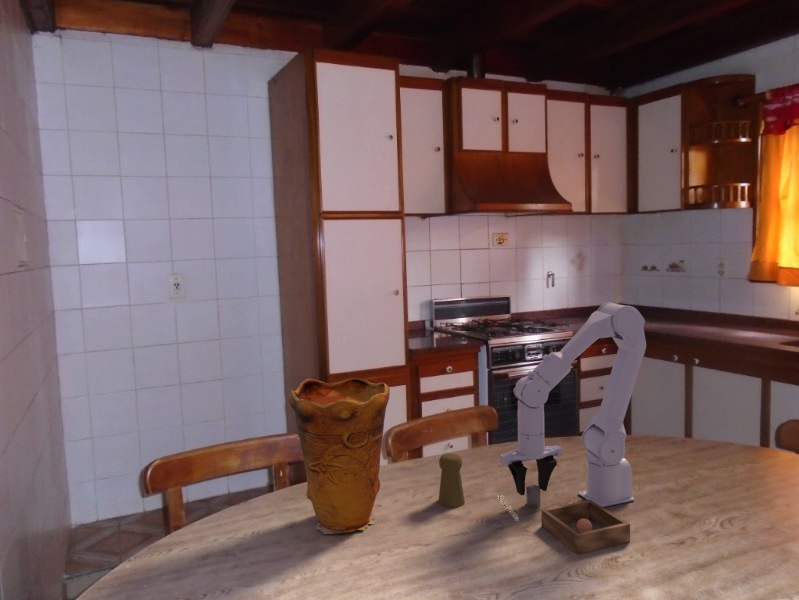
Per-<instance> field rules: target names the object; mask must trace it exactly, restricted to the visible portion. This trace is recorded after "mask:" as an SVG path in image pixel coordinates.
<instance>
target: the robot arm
mask: <svg viewBox="0 0 799 600" xmlns="http://www.w3.org/2000/svg"><path fill="white" fill-rule="evenodd" d="M645 323H646V320H645V317H644V316H643V315H642V314H641V312H640V311H639V310H638V309H637V308H636V307H634V306H631V305H624V304H618V303H615V302H612V301H609V302H608V301H607V302H605V303H603V304H601V305H600V306H599V307H598V309H597V310H595V311H593V312H592V313H591V314H590V316H589V317H588V319H587V320H586V322H585V323H584V324H583V325H582V326H581V327H580V328H579V329H578V331H577V332H576V333H575V334H574V335H573V336H572V337H571V338H570V339H569V340H568V341H567V343H566V344H565V345H564V346H563V347H562V348H561V349H560V350H559V351H556V352H555V351H552V352H550V353H548V354H544V355H543V356H542V357H541V359H542V361H541V362H540V363H538V365H537V366H536V367H535V368H533V369H532V370H529V371H528V372H527V373H526V375H527V376H523V377H520V379H518V380H517V381H516V382H515V387H514V388H513V390H512V391H513V394H514V396H515V397H516V398H517V448H516V449H514V450H511V451H509V452H506V453H503V454H500V455H499V459H500V464H501V465H502V466H504V467H507V468H508V469H509V472H510V474H511V476H512V478H513V482H514V485H515V489H516V492H517V494H519V495H520V496H524V495H526V494H525V493H526V476H527V475H526V474H527V472H528V468H527V467H526V466H525V465H524V463H523V462H529V461H534V460H535V462H536V466H537V467H536V468H537V477H538V478H537V481H538V482H537V483H538V485H537V486H539V487H540V490H541V491H542V492H543V491H544V492H546V491H547V489H548V486H549V482H550V480H551V476H552V473H553V472H554V470H555V468H556V467H557V463H558V462H557V459H556V458H554V457H557V458H560V457H563V455H562V454H563V453H562V452H563V450H562V447H560V446H559V445H557V444H556V445H546V446H545V410H544V409H545V404H546V403H547V401H548V400H549V399H548V398H549V394H550V392H551V391H552V390H553V389H554V388H555V387H556V386H557V385H558V384H559V383H560V382H561V381H562V380H563V379H564V378H565V377H566V376H567V375H568V374H569V373H570V372H571V370H572V368H571V365H572V363H573V361H575V360H576V359H577V358H578V357H579V356H580V355H581V354H583V352H585V351H586V350H587V349H588V348H589V347H591V345H592V344H594V343H595V342H596V341H597V340H598V339H605V338H612V339H613V341H614V343H615V344H616V346H617V347H618V349H617V352H616V356H615V359H614V361H613V365H612V368H611V372H610V375H609V379H608V381H607V383H606V384H607V385H606V388H605V392H604V395H603V398H602V400H601V404H600V407H599V411H598V413H597V414H596V415H594V416H593V417H592V418H591V420H590V422H589V425H588V426H587V428H585V430H584V431H583V432H582V435H581V442H582V446H583V447H584V448H585V449H586V462H585V463H586V466H585V467H586V473H585V474H586V476H585V477H586V480H585V481H586V483H585V484H586V487H585V488H586V490H582V491H578V492H577V495H579V496H581V497H582V498H584V499H585V500H586V501H587V500H592V501H593V502H595V503H596V504H598V505H600V506H601V507H603V508H604V507H609V506H614V505H618V504H623V503H629V502H633V501H635V497H633V470H632V466H631V464H630V462H629V461H628V459H626V458H625V456H626V444H625V443H626V439H627V432H626V429H625V426H624V419H625V417H626V415H627V414H626V413H627V410H628V407H629V404H630V401H631V398H632V394H633V391H634V388H635V386H636V381H637V379H638V376H639V372H640V368H641V366H642V362H643V359H644V356H645V354H646V349H647V340H646V335H645V328H644V326H645Z"/></svg>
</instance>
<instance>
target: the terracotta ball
mask: <svg viewBox="0 0 799 600" xmlns="http://www.w3.org/2000/svg"><path fill="white" fill-rule="evenodd" d="M576 530H577V531H578V533H582V532H587V531H591V530H593V524H592V522H591V520H589V519H588V518H587V519H584V518H583V519H580V520H578V521H576Z"/></svg>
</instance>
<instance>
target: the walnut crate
mask: <svg viewBox="0 0 799 600" xmlns="http://www.w3.org/2000/svg"><path fill="white" fill-rule="evenodd" d="M540 514H541V519H540V520H541V528H543V529H545V530H546V531H547V532H549V534H551V535H552V536H553V537H555V538H556V539H557V540H558V541H560V542H561V543H563V544H564V545H565V546H567V547H568V548H569V549H570V550H572V551H573V552H574V553H575V554H577V555H579V554H580V555H581V554H584V553H588V552H592V551H596V550H600V549H605V548H609V547H613V546H617V545H621V544H626V543H630V542H631V523H629V522H627V521H626V520H624V519H623V518H622V517H620V516H618V515H616V514H614V513H613V512H611V511H609V510H607V509H606V508H604V507H601V506H600V505H598V504H596V503H595V502H593V501H592V500H587V499H586V500H583V501H578V502H573V503H568V504H563V505H559V506H553V507H549V508H543V509H541V512H540ZM583 518H584V519H587V520H588V519H590V520H592V521H593V522H595V523H597V524H598V525H600V526H601V528H597V529H592V530H591V531H587V532H582V533H580V532H577V531H576V530H574V529H573V528H572V527H570V526H569V525H568V523H573V522H578V521H579V520H580V519H583Z"/></svg>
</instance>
